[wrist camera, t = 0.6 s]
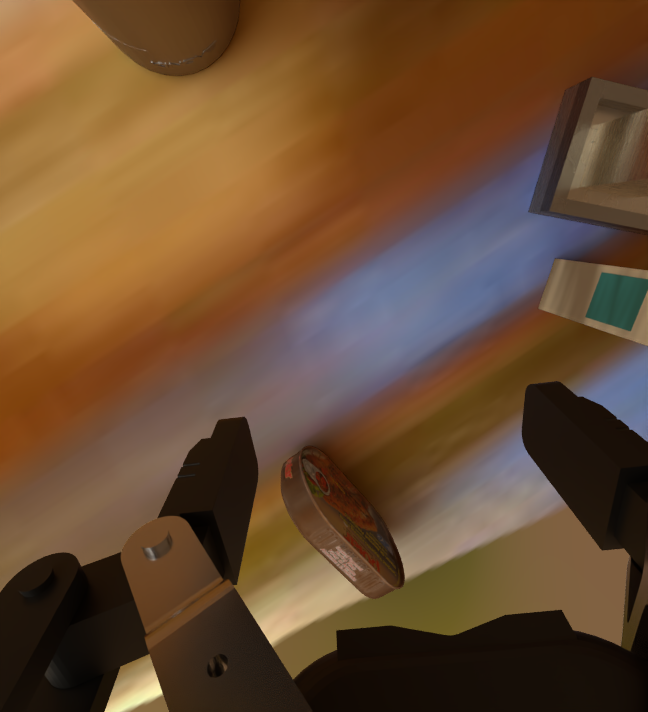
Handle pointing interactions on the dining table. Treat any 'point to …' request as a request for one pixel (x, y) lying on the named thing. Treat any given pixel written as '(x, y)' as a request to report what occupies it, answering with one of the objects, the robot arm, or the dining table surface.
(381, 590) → the tin
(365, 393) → the dining table surface
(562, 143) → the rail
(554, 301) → the maple finger
